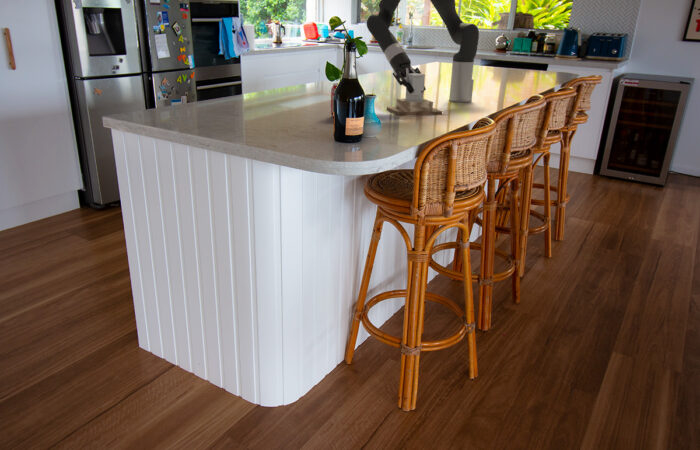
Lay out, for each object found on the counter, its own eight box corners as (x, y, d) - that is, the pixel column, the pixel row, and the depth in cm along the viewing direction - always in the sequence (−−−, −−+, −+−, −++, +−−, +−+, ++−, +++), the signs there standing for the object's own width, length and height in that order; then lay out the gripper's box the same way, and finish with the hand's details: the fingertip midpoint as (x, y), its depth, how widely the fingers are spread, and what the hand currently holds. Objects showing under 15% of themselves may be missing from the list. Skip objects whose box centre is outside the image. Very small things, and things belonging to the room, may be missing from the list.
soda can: (349, 118, 202) (350, 85, 198) (330, 118, 202) (330, 85, 198) (349, 115, 209) (350, 83, 205) (331, 114, 209) (331, 82, 205)
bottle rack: (427, 108, 228) (428, 97, 226) (441, 114, 215) (442, 102, 213) (386, 109, 223) (387, 98, 221) (399, 115, 210) (399, 103, 208)
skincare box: (411, 106, 215) (413, 74, 210) (404, 104, 218) (406, 73, 214) (423, 105, 218) (425, 74, 213) (416, 103, 221) (418, 73, 217)
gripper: (390, 52, 211) (412, 86, 207) (414, 50, 220) (435, 83, 217) (379, 65, 216) (400, 99, 213) (403, 63, 226) (423, 95, 222)
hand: (418, 91), depth 215 cm, fingers closed on skincare box, 6 cm apart
